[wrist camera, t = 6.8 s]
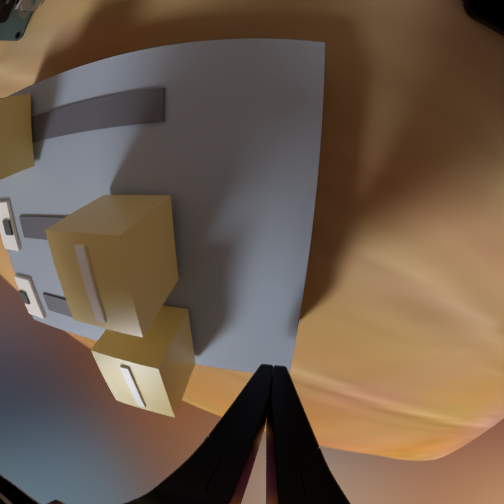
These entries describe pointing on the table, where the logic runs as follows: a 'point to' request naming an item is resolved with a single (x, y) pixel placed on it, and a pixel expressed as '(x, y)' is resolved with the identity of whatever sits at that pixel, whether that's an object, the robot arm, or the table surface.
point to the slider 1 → (15, 135)
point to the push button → (15, 17)
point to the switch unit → (185, 182)
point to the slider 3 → (149, 362)
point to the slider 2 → (116, 260)
